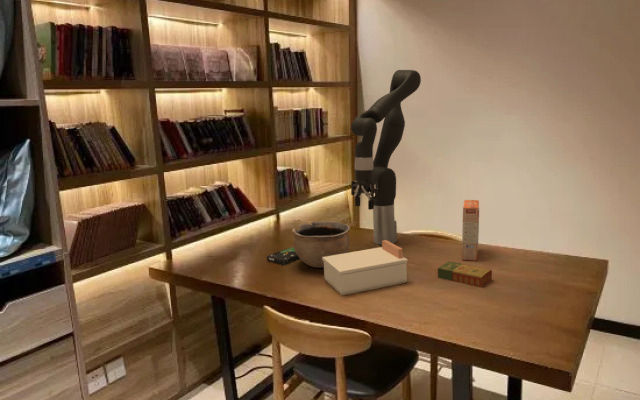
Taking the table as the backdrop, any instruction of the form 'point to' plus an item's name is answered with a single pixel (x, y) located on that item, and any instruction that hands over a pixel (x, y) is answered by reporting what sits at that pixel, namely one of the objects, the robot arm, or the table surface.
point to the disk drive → (283, 256)
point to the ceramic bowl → (320, 241)
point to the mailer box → (365, 278)
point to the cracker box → (470, 230)
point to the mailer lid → (366, 258)
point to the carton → (465, 274)
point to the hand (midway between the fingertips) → (364, 207)
